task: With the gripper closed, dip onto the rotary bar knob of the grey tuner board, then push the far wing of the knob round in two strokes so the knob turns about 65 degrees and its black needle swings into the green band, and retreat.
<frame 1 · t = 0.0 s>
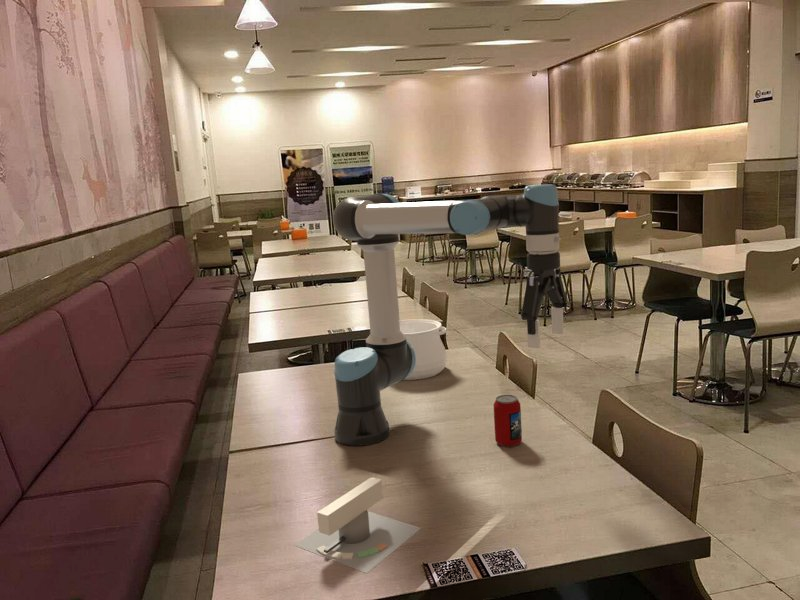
hand: (546, 340, 156), 28 cm above the table, fingers open, 13 cm apart
tuner board: (359, 542, 127), on the table
pot: (413, 372, 235), on the table
rotary bar knob: (352, 515, 126), point 5 cm above the table, hinge at 0.0°
beverage can: (508, 443, 168), on the table
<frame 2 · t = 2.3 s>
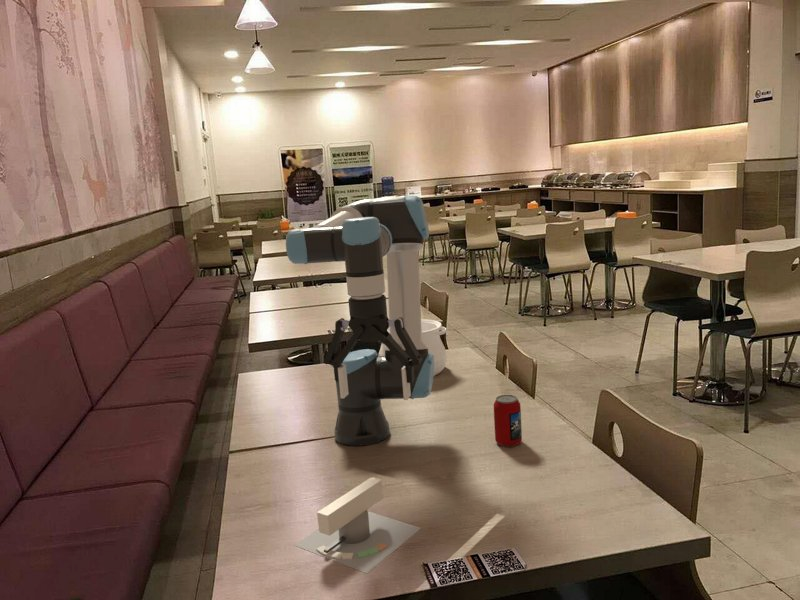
hand: (375, 397, 134), 25 cm above the table, fingers open, 13 cm apart
nothing on the table moved.
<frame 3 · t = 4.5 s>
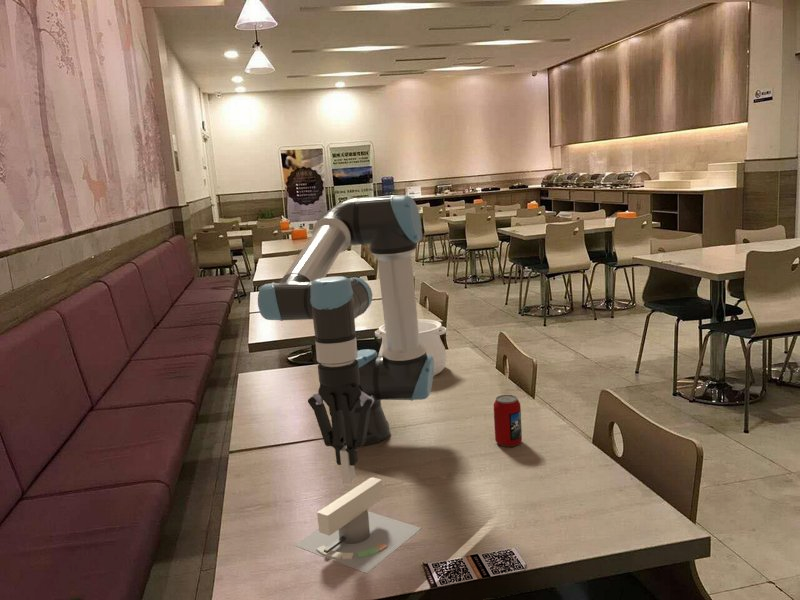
hand: (348, 480, 125), 13 cm above the table, fingers closed
nothing on the table moved.
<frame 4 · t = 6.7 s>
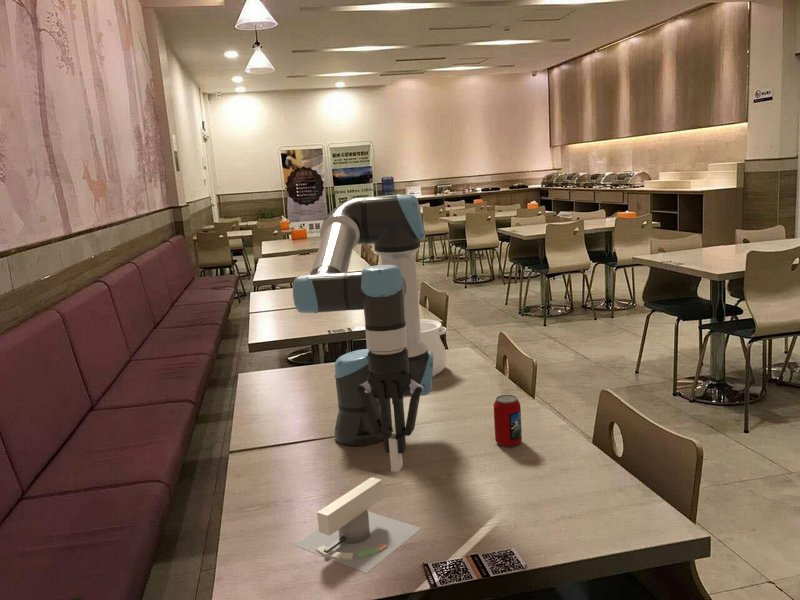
hand: (397, 468, 125), 14 cm above the table, fingers closed
nothing on the table moved.
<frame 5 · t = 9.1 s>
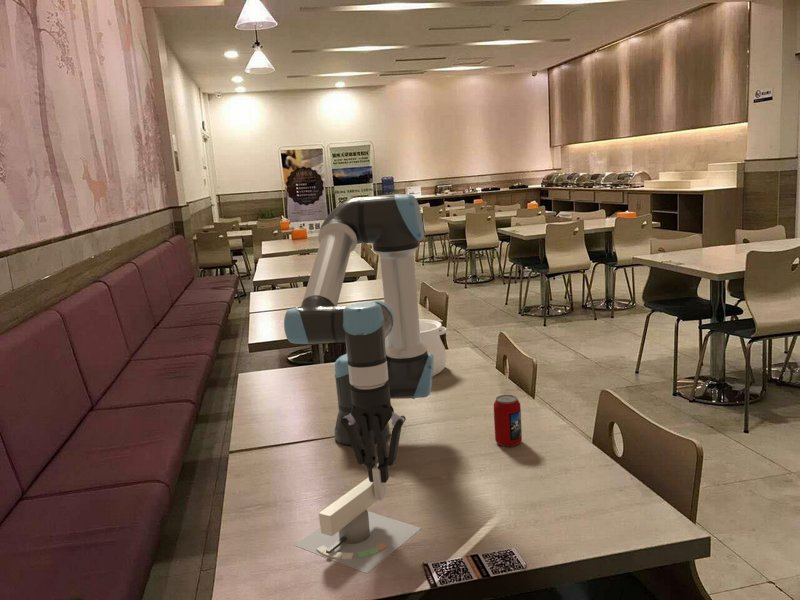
hand: (380, 496, 130), 7 cm above the table, fingers closed
rotary bar knob: (352, 515, 126), point 5 cm above the table, hinge at 3.7°, touching gripper
everything else where it was.
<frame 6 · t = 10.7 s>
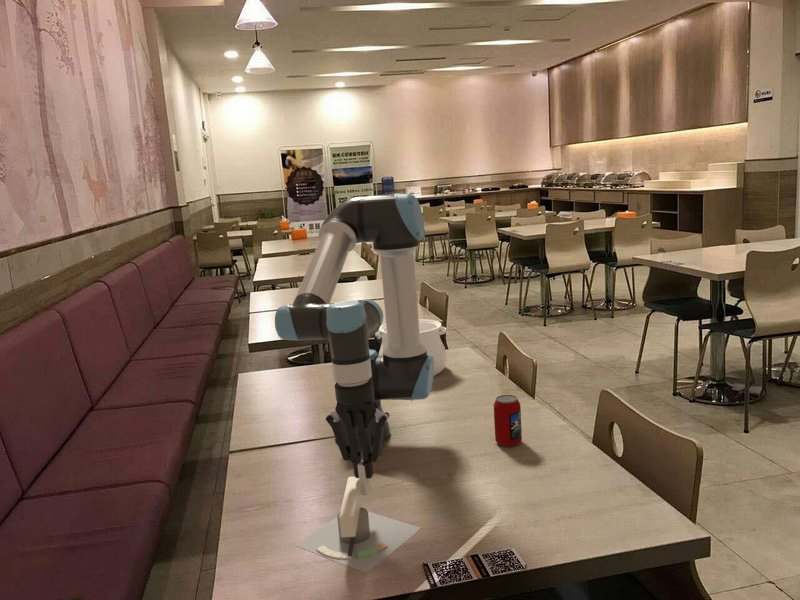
hand: (366, 492, 132), 7 cm above the table, fingers closed
rotary bar knob: (352, 515, 126), point 5 cm above the table, hinge at 35.0°, touching gripper
everything else where it was.
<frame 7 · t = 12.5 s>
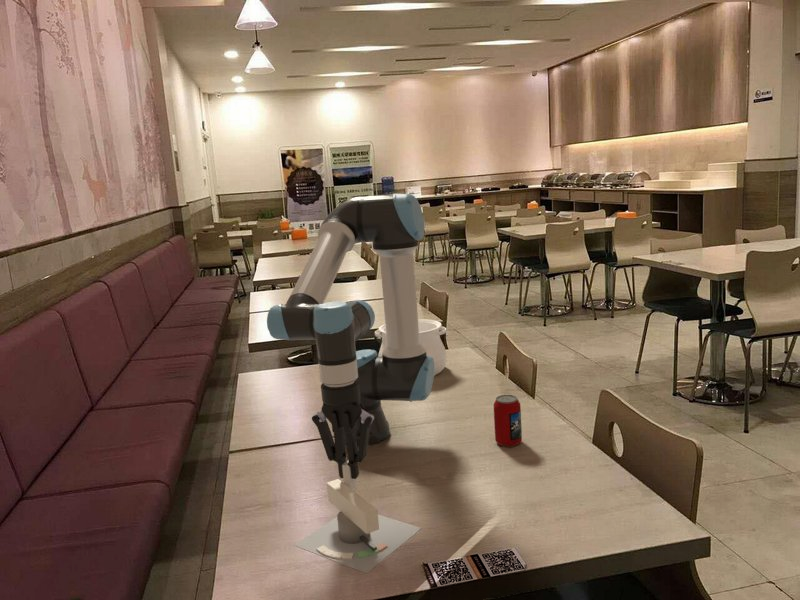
hand: (350, 492, 133), 7 cm above the table, fingers closed
rotary bar knob: (352, 515, 126), point 5 cm above the table, hinge at 68.4°, touching gripper
everything else where it was.
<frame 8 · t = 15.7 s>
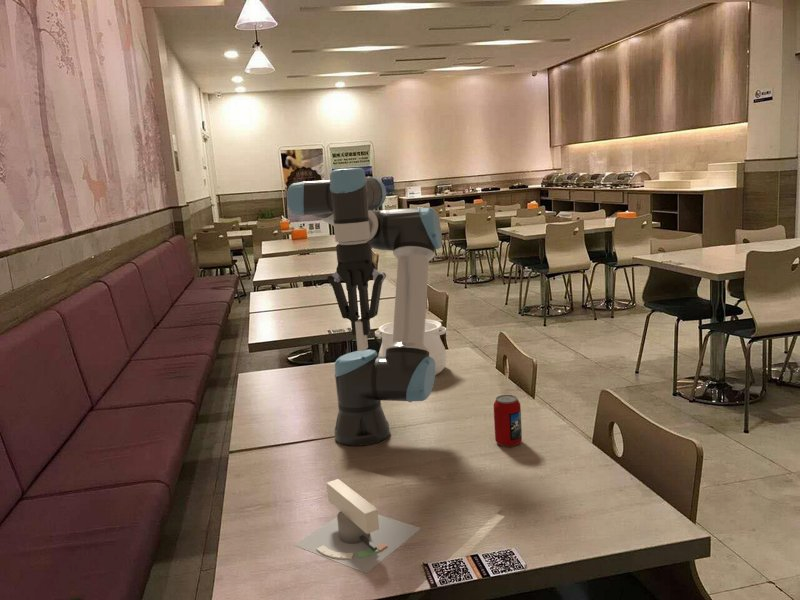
hand: (362, 349, 144), 32 cm above the table, fingers closed
rotary bar knob: (352, 515, 126), point 5 cm above the table, hinge at 68.5°
everything else where it was.
at the end: rotary bar knob at +68° (first picture: +0°); rotary bar knob touching nothing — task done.
